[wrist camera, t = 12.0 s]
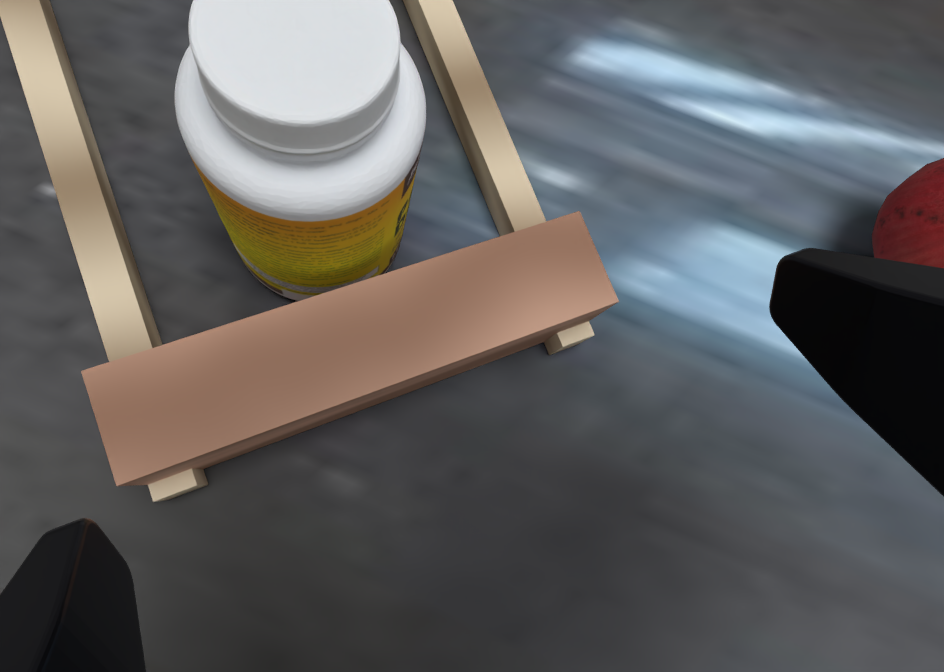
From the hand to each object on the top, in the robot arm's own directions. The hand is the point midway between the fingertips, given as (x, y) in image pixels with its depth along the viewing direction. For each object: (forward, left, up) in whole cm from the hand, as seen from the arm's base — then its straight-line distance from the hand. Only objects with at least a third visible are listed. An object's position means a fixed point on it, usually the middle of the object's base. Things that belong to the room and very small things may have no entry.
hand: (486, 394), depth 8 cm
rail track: (+6, +8, -14) cm, 17 cm away
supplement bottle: (+5, +6, -14) cm, 16 cm away
